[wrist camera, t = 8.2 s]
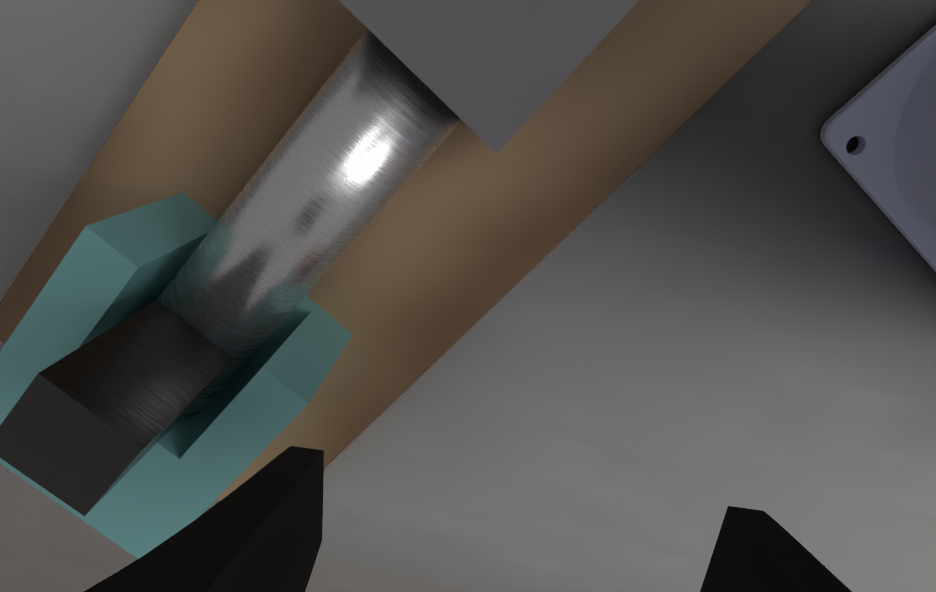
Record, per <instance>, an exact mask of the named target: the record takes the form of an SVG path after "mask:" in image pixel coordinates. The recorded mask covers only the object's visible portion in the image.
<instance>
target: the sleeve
mask: <svg viewBox="0 0 936 592" xmlns="http://www.w3.org/2000/svg"><path fill="white" fill-rule="evenodd" d="M339 1H340V2H341V3H342V4H343V5H344V6H345V7H346V8H347V9H348V10H349V11H350V12H351V13H352V14H353V15H354V16H355V17H356V18H357V19H359V20H360V21H361V22H362V23H363V24H364V25H365V26H366V27H367V28H368V29H369V30H370V31H371V32H372V33H373V34H374V35H375V36H376V37H377V38H378V39H379V40H380V41H381V42H382V43H383V44H384V45H385V46H386V47H387V48H388V49H389V50H390V51H391V52H392V53H394V54H395V55H396V56H397V57H398V58H399V59H400V60H401V61H402V62H403V63H404V64H405V65H406V66H407V67H408V68H409V69H410V70H411V71H412V72H413V73H414V74H415V75H416V76H417V77H418V78H419V79H420V80H421V81H422V82H423V83H424V84H425V85H426V86H427V87H429V88H430V89H431V90H432V91H433V92H434V93H435V94H436V95H437V96H438V97H439V98H440V99H441V100H442V101H443V102H444V103H445V104H446V105H447V106H448V107H449V108H450V109H451V110H452V111H453V112H454V113H455V114H456V115H457V116H458V117H459V118H460V119H461V120H462V121H463V122H465V123H466V124H467V125H468V126H469V127H470V128H471V129H472V130H473V131H474V132H475V133H476V134H477V135H478V136H479V137H480V138H481V139H482V140H483V141H484V142H485V143H486V144H487V145H488V146H489V147H490V148H491V149H492V150H493V151H494V152H495V153H497V152H498V151H499V150H500V149H501V148H502V147H503V146H504V145H505V144H506V143H507V142H508V141H509V139H510V138H511V137H512V136H513V135H514V134H515V133H516V132H517V131H518V130H519V129H520V128H521V127H522V126H523V124H524V123H525V122H526V121H527V120H528V119H529V118H530V117H531V116H532V115H533V114H534V113H535V112H536V111H537V109H538V108H539V107H540V106H541V105H542V104H543V103H544V102H545V101H546V100H547V99H548V98H549V97H550V96H551V94H552V93H553V92H554V91H555V90H556V89H557V88H558V87H559V86H560V85H561V84H562V83H563V82H564V81H565V79H566V78H567V77H568V76H569V75H570V74H571V73H572V72H573V71H574V70H575V69H576V68H577V67H578V66H579V64H580V63H581V62H582V61H583V60H584V59H585V58H586V57H587V56H588V55H589V54H590V53H591V52H592V51H593V49H594V48H595V47H596V46H597V45H598V44H599V43H600V42H601V41H602V40H603V39H604V38H605V37H606V36H607V34H608V33H609V32H610V31H611V30H612V29H613V28H614V27H615V26H616V25H617V24H618V23H619V22H620V21H621V19H622V18H623V17H624V16H625V15H626V14H627V13H628V12H629V11H630V10H631V9H632V8H633V7H634V6H635V4H636V3H637V2H638V1H639V0H339Z"/></svg>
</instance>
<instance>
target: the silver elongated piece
mask: <svg viewBox="0 0 936 592" xmlns="http://www.w3.org/2000/svg"><path fill="white" fill-rule="evenodd" d="M461 121H462V120H461V119H460V118H459V117H458V116H457V115H456V114H455V113H454V112H453V111H452V110H451V109H450V108H449V107H448V106H447V105H446V104H445V103H444V102H443V101H442V100H441V99H440V98H439V97H438V96H437V95H436V94H435V93H434V92H433V91H432V90H431V89H430V88H429V87H427V86H426V85H425V84H424V83H423V82H422V81H421V80H420V79H419V78H418V77H417V76H416V75H415V74H414V73H413V72H412V71H411V70H410V69H409V68H408V67H407V66H406V65H405V64H404V63H403V62H402V61H401V60H400V59H399V58H398V57H397V56H396V55H395V54H394V53H392V52H391V51H390V50H389V49H388V48H387V47H386V46H385V45H384V44H383V43H382V42H381V41H380V40H379V39H378V38H377V37H376V36H375V35H374V34H373V33H372V32H371V31H370V30H369V29H368V28H367V29H366V31H365V32H364V33H363V34H362V36H361V37H360V38H359V40H358V41H357V42H356V43H355V45H354V46H353V47H352V49H351V50H350V51H349V52H348V54H347V55H346V56H345V58H344V59H343V60H342V62H341V63H340V64H339V65H338V67H337V68H336V69H335V71H334V72H333V73H332V74H331V76H330V77H329V78H328V80H327V81H326V82H325V83H324V85H323V86H322V87H321V89H320V90H319V91H318V92H317V94H316V95H315V96H314V98H313V99H312V100H311V101H310V103H309V104H308V105H307V107H306V108H305V109H304V110H303V112H302V113H301V114H300V116H299V117H298V118H297V120H296V121H295V122H294V123H293V125H292V126H291V127H290V129H289V130H288V131H287V132H286V134H285V135H284V136H283V138H282V139H281V140H280V141H279V143H278V144H277V145H276V147H275V148H274V149H273V150H272V152H271V153H270V154H269V156H268V157H267V158H266V159H265V161H264V162H263V163H262V165H261V166H260V167H259V168H258V170H257V171H256V172H255V174H254V175H253V176H252V178H251V179H250V180H249V181H248V183H247V184H246V185H245V187H244V188H243V189H242V190H241V192H240V193H239V194H238V196H237V197H236V198H235V199H234V201H233V202H232V203H231V205H230V206H229V207H228V208H227V210H226V211H225V212H224V214H223V215H222V216H221V217H220V219H219V220H218V221H217V223H216V224H215V225H214V226H213V228H212V229H211V230H210V232H209V233H208V234H207V236H206V237H205V238H204V239H203V241H202V242H201V243H200V245H199V246H198V247H197V248H196V250H195V251H194V252H193V254H192V255H191V256H190V257H189V259H188V260H187V261H186V263H185V264H184V265H183V266H182V268H181V269H180V270H179V272H178V273H177V274H176V275H175V277H174V278H173V279H172V281H171V282H170V283H169V285H168V286H167V287H166V288H165V290H164V291H163V292H162V294H161V295H160V296H159V297H158V299H157V300H155V301H154V302H152V303H150V304H149V305H147V306H146V307H144V308H142V309H141V310H139V311H138V312H136V313H134V314H133V315H131V316H130V317H128V318H126V319H125V320H123V321H121V322H120V323H118V324H117V325H115V326H113V327H112V328H110V329H109V330H107V331H105V332H104V333H102V334H100V335H99V336H97V337H96V338H94V339H92V340H91V341H89V342H88V343H86V344H84V345H83V346H81V347H79V348H78V349H76V350H75V351H73V352H71V353H70V354H68V355H67V356H65V357H63V358H62V359H60V360H59V361H57V362H55V363H54V364H52V365H50V366H49V367H47V368H46V369H44V370H42V371H41V372H39V373H38V374H37V375H36V377H35V378H34V380H33V381H32V382H31V384H30V385H29V386H28V388H27V389H26V391H25V392H24V393H23V395H22V396H21V397H20V399H19V400H18V402H17V403H16V404H15V406H14V407H13V408H12V410H11V411H10V413H9V414H8V415H7V417H6V418H5V420H4V421H3V422H2V424H1V425H0V458H1V459H2V460H4V461H5V462H7V463H8V464H9V465H11V466H12V467H14V468H15V469H17V470H18V471H20V472H21V473H22V474H24V475H25V476H27V477H28V478H30V479H31V480H33V481H34V482H35V483H37V484H38V485H40V486H41V487H43V488H44V489H46V490H47V491H48V492H50V493H51V494H53V495H54V496H56V497H57V498H59V499H60V500H61V501H63V502H64V503H66V504H67V505H69V506H70V507H72V508H73V509H74V510H76V511H77V512H79V513H80V514H82V515H83V516H85V515H86V514H87V513H88V512H89V511H90V510H91V509H92V508H93V507H94V506H95V505H96V504H97V503H98V502H99V501H100V500H101V499H102V498H103V497H104V496H105V495H106V494H107V493H108V492H109V491H110V490H111V489H112V488H113V487H114V486H115V485H116V484H117V483H118V482H119V481H120V480H121V479H122V478H123V477H124V476H125V475H126V474H127V473H128V472H129V471H130V470H131V469H132V468H133V467H134V466H135V465H136V464H137V463H138V462H139V461H140V459H141V458H142V457H143V456H144V455H145V454H146V453H147V452H148V451H149V450H150V449H151V448H152V447H153V446H154V445H155V444H156V443H157V442H158V441H159V440H160V439H161V438H162V437H163V436H164V435H165V434H166V433H167V432H168V431H169V430H170V429H171V428H172V427H173V426H174V425H175V424H176V423H177V422H178V421H182V420H188V419H192V418H194V417H197V416H198V415H200V414H201V413H202V412H203V411H204V410H205V409H206V408H207V407H208V406H209V405H210V404H211V403H212V401H213V400H214V399H215V398H216V397H217V396H218V395H219V394H220V392H221V391H222V390H223V389H224V388H225V387H226V386H227V385H228V383H229V382H230V381H231V380H232V379H233V378H234V377H235V376H236V374H237V373H238V372H239V371H240V370H241V369H242V368H243V367H244V366H245V364H246V363H247V362H248V361H249V360H250V359H251V358H252V357H253V355H254V354H255V353H256V352H257V351H258V350H259V349H260V348H261V346H262V345H263V344H264V343H265V342H266V341H267V340H268V339H269V337H270V336H271V335H272V334H273V333H274V332H275V331H276V330H277V328H278V327H279V326H280V325H281V324H282V323H283V322H284V321H285V319H286V318H287V317H288V316H289V315H290V314H291V313H292V312H293V310H294V309H295V308H296V307H297V306H298V305H299V304H300V303H301V301H302V300H303V299H304V298H305V297H306V296H307V295H308V294H309V292H310V291H311V290H312V289H313V288H314V287H315V286H316V285H317V283H318V282H319V281H320V280H321V279H322V278H323V277H324V276H325V274H326V273H327V272H328V271H329V270H330V269H331V268H332V267H333V265H334V264H335V263H336V262H337V261H338V260H339V259H340V258H341V256H342V255H343V254H344V253H345V252H346V251H347V250H348V249H349V247H350V246H351V245H352V244H353V243H354V242H355V241H356V240H357V238H358V237H359V236H360V235H361V234H362V233H363V232H364V231H365V229H366V228H367V227H368V226H369V225H370V224H371V223H372V222H373V220H374V219H375V218H376V217H377V216H378V215H379V214H380V213H381V211H382V210H383V209H384V208H385V207H386V206H387V205H388V204H389V202H390V201H391V200H392V199H393V198H394V197H395V196H396V195H397V193H398V192H399V191H400V190H401V189H402V188H403V187H404V186H405V184H406V183H407V182H408V181H409V180H410V179H411V178H412V177H413V175H414V174H415V173H416V172H417V171H418V170H419V169H420V168H421V166H422V165H423V164H424V163H425V162H426V161H427V160H428V159H429V157H430V156H431V155H432V154H433V153H434V152H435V151H436V150H437V148H438V147H439V146H440V145H441V144H442V143H443V142H444V141H445V139H446V138H447V137H448V136H449V135H450V134H451V133H452V132H453V130H454V129H455V128H456V127H457V126H458V125H459V124H460V123H461Z"/></svg>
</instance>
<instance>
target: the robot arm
mask: <svg viewBox="0 0 936 592" xmlns="http://www.w3.org/2000/svg"><path fill="white" fill-rule="evenodd" d="M820 135H821V141H822V143H823V145H824V146H825V147H826V148H827V149H828V150H829V152H830V153H831V154H832V155H833V156H834V157H835V158H836V160H837V161H838V162H839V163H840V164H841V165H842V166H843V167H844V169H845V170H846V171H847V172H848V173H849V174H850V175H851V177H852V178H853V179H854V180H855V181H856V182H857V183H858V185H859V186H860V187H861V188H862V189H863V190H864V191H865V192H866V194H867V195H868V196H869V197H870V198H871V199H872V200H873V202H874V203H875V204H876V205H877V206H878V207H879V208H880V209H881V211H882V212H883V213H884V214H885V215H886V216H887V217H888V219H889V220H890V221H891V222H892V223H893V224H894V225H895V227H896V228H897V229H898V230H899V231H900V232H901V233H902V234H903V236H904V237H905V238H906V239H907V240H908V241H909V242H910V244H911V245H912V246H913V247H914V248H915V249H916V250H917V251H918V253H919V254H920V255H921V256H922V257H923V258H924V259H925V261H926V262H927V263H928V264H929V265H930V266H931V267H932V269H933V270H934V271H935V272H936V25H935V26H933V27H932V28H931V29H930V30H929V31H928V32H927V33H925V34H924V35H923V36H922V37H921V38H920V39H919V40H918V41H916V42H915V43H914V44H913V45H912V46H911V47H910V48H908V49H907V50H906V51H905V52H904V53H903V54H902V55H900V56H899V57H898V58H897V59H896V60H895V61H894V62H893V63H891V64H890V65H889V66H888V67H887V68H886V69H885V70H883V71H882V72H881V73H880V74H879V75H878V76H877V77H875V78H874V79H873V80H872V81H871V82H870V83H869V84H868V85H866V86H865V87H864V88H863V89H862V90H861V91H860V92H858V93H857V94H856V95H855V96H854V97H853V98H852V99H850V100H849V101H848V102H847V103H846V104H845V105H844V106H842V107H841V108H840V109H839V110H838V111H837V112H836V113H835V114H833V115H832V116H831V117H830V118H829V119H828V120H827V121H826V122H825V123H824V125H823V127H822V129H821V132H820ZM854 136H856V137H857V138H858V141H859V142H858V147H857V148H856V149H855V150H854V151H853V152H851V153H848V152H847V150H846V145H847V142H848V141H849V140H850V139H851V138H853V137H854ZM323 472H324V450H318V449H310V448H303V447H296V446H290V447H289V448H287V449H286V450H284V451H283V452H282V453H281V454H279V455H278V456H277V457H275V458H274V459H273V460H272V461H270V462H269V463H268V464H267V465H265V466H264V467H263V468H262V469H260V470H259V471H258V472H257V473H255V474H254V475H253V476H252V477H250V478H249V479H248V480H247V481H245V482H244V483H243V484H242V485H240V486H239V487H238V488H236V489H235V490H234V491H233V492H231V493H230V494H229V495H227V496H226V497H225V498H223V499H222V500H221V501H219V502H218V503H217V504H215V505H214V506H213V507H212V508H210V509H209V510H208V511H206V512H205V513H204V514H202V515H201V516H200V517H198V518H197V519H196V520H194V521H193V522H191V523H190V524H189V525H187V526H186V527H184V528H183V529H181V530H180V531H178V532H177V533H176V534H174V535H173V536H171V537H170V538H168V539H167V540H165V541H164V542H163V543H161V544H160V545H158V546H157V547H155V548H154V549H152V550H151V551H150V552H148V553H147V554H145V555H144V556H142V557H141V558H139V559H137V560H136V561H134V562H133V563H131V564H130V565H128V566H126V567H125V568H123V569H121V570H120V571H118V572H117V573H115V574H113V575H112V576H110V577H108V578H106V579H105V580H103V581H101V582H100V583H98V584H96V585H94V586H93V587H91V588H89V589H88V590H86V591H84V592H305V590H306V587H307V584H308V581H309V578H310V575H311V572H312V569H313V566H314V563H315V560H316V557H317V554H318V551H319V548H320V545H321V542H322V516H323ZM700 592H852V591H850V590H849V589H848V588H847V587H846V586H845V585H844V584H843V583H842V582H841V581H840V580H839V579H837V578H836V577H835V576H834V575H833V574H832V573H831V572H830V571H829V570H828V569H827V568H826V567H825V566H824V565H822V564H821V563H820V562H819V561H818V560H817V559H816V558H815V557H814V556H813V555H812V554H811V553H810V552H809V551H808V550H806V549H805V548H804V547H803V546H802V545H801V544H800V543H799V542H798V541H797V540H796V539H795V538H794V537H792V536H791V535H790V534H789V533H788V532H787V531H786V530H785V529H784V528H783V527H782V526H780V525H779V524H778V523H777V522H776V521H775V520H774V519H772V518H771V517H770V516H769V515H768V514H767V513H765V512H764V511H760V510H753V509H746V508H738V507H731V506H728V508H727V511H726V514H725V517H724V520H723V524H722V527H721V530H720V533H719V536H718V539H717V542H716V545H715V548H714V551H713V554H712V557H711V560H710V563H709V567H708V570H707V573H706V576H705V579H704V582H703V585H702V588H701V591H700Z"/></svg>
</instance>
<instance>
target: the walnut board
mask: <svg viewBox="0 0 936 592" xmlns="http://www.w3.org/2000/svg"><path fill="white" fill-rule="evenodd" d="M811 1H812V0H639V1H638V2H637V3H636V4H635V6H634V7H633V8H632V9H631V10H630V11H629V12H628V13H627V14H626V15H625V16H624V17H623V18H622V19H621V21H620V22H619V23H618V24H617V25H616V26H615V27H614V28H613V29H612V30H611V31H610V32H609V33H608V34H607V36H606V37H605V38H604V39H603V40H602V41H601V42H600V43H599V44H598V45H597V46H596V47H595V48H594V49H593V51H592V52H591V53H590V54H589V55H588V56H587V57H586V58H585V59H584V60H583V61H582V62H581V63H580V64H579V66H578V67H577V68H576V69H575V70H574V71H573V72H572V73H571V74H570V75H569V76H568V77H567V78H566V79H565V81H564V82H563V83H562V84H561V85H560V86H559V87H558V88H557V89H556V90H555V91H554V92H553V93H552V94H551V96H550V97H549V98H548V99H547V100H546V101H545V102H544V103H543V104H542V105H541V106H540V107H539V108H538V109H537V111H536V112H535V113H534V114H533V115H532V116H531V117H530V118H529V119H528V120H527V121H526V122H525V123H524V124H523V126H522V127H521V128H520V129H519V130H518V131H517V132H516V133H515V134H514V135H513V136H512V137H511V138H510V139H509V141H508V142H507V143H506V144H505V145H504V146H503V147H502V148H501V149H500V150H499V151H498V152H497V153H495V152H494V151H493V150H492V149H491V148H490V147H489V146H488V145H487V144H486V143H485V142H484V141H483V140H482V139H481V138H480V137H479V136H478V135H477V134H476V133H475V132H474V131H473V130H472V129H471V128H470V127H469V126H468V125H467V124H466V123H465V122H463V121H461V123H460V124H459V125H458V126H457V127H456V128H455V129H454V130H453V132H452V133H451V134H450V135H449V136H448V137H447V138H446V139H445V141H444V142H443V143H442V144H441V145H440V146H439V147H438V148H437V150H436V151H435V152H434V153H433V154H432V155H431V156H430V157H429V159H428V160H427V161H426V162H425V163H424V164H423V165H422V166H421V168H420V169H419V170H418V171H417V172H416V173H415V174H414V175H413V177H412V178H411V179H410V180H409V181H408V182H407V183H406V184H405V186H404V187H403V188H402V189H401V190H400V191H399V192H398V193H397V195H396V196H395V197H394V198H393V199H392V200H391V201H390V202H389V204H388V205H387V206H386V207H385V208H384V209H383V210H382V211H381V213H380V214H379V215H378V216H377V217H376V218H375V219H374V220H373V222H372V223H371V224H370V225H369V226H368V227H367V228H366V229H365V231H364V232H363V233H362V234H361V235H360V236H359V237H358V238H357V240H356V241H355V242H354V243H353V244H352V245H351V246H350V247H349V249H348V250H347V251H346V252H345V253H344V254H343V255H342V256H341V258H340V259H339V260H338V261H337V262H336V263H335V264H334V265H333V267H332V268H331V269H330V270H329V271H328V272H327V273H326V274H325V276H324V277H323V278H322V279H321V280H320V281H319V282H318V283H317V285H316V286H315V287H314V288H313V289H312V290H311V291H310V292H309V294H308V295H307V297H308V298H310V299H311V300H312V301H313V302H314V303H316V304H317V305H318V306H319V307H320V308H322V309H323V310H324V311H325V312H326V313H328V314H329V315H330V316H331V317H332V318H333V319H335V320H336V321H337V322H338V323H339V324H341V325H342V326H343V327H344V328H345V329H347V330H348V331H349V332H350V333H351V334H352V337H351V338H350V340H349V341H348V343H347V344H346V346H345V348H344V349H343V351H342V352H341V354H340V355H339V357H338V359H337V360H336V362H335V363H334V365H333V366H332V368H331V370H330V371H329V373H328V374H327V376H326V377H325V379H324V381H323V382H322V384H321V385H320V387H319V388H318V390H317V391H316V393H315V395H314V396H313V398H312V399H311V401H310V402H309V404H308V405H307V406H306V407H305V408H304V409H303V410H302V411H301V412H300V413H299V414H298V415H297V416H296V417H295V418H294V419H293V421H292V422H291V423H290V424H289V425H288V426H287V427H286V428H285V429H284V430H283V431H282V432H281V433H280V434H279V435H278V436H277V437H276V438H275V439H274V440H273V441H272V442H271V443H270V444H269V445H268V446H267V447H266V448H265V449H264V450H263V451H262V452H261V453H260V454H259V456H258V457H257V458H256V459H255V460H254V461H253V462H252V463H251V464H250V465H249V466H248V467H247V468H246V469H245V470H244V471H243V472H242V473H241V474H240V475H239V476H238V477H237V478H236V479H235V480H234V481H233V482H232V483H231V484H230V485H229V486H228V487H227V488H226V489H225V490H224V492H223V493H222V494H221V495H220V496H219V497H218V498H217V500H218V501H221V500H222V499H223V498H225V497H226V496H227V495H229V494H230V493H231V492H233V491H234V490H235V489H236V488H238V487H239V486H240V485H242V484H243V483H244V482H245V481H247V480H248V479H249V478H250V477H252V476H253V475H254V474H255V473H257V472H258V471H259V470H260V469H262V468H263V467H264V466H265V465H267V464H268V463H269V462H270V461H272V460H273V459H274V458H275V457H277V456H278V455H279V454H281V453H282V452H283V451H284V450H286V449H287V448H289V447H290V446H296V447H303V448H310V449H318V450H324V468H325V467H326V466H327V465H328V464H330V463H331V462H332V461H333V460H334V459H335V458H336V457H337V456H338V455H339V454H340V453H341V452H342V451H343V450H344V449H345V448H346V447H347V446H348V445H349V444H350V443H351V442H352V441H353V440H355V439H356V438H357V437H358V436H359V435H360V434H361V433H362V432H363V431H364V430H365V429H366V428H367V427H368V426H369V425H370V424H371V423H372V422H373V421H374V420H375V419H376V418H377V417H378V416H380V415H381V414H382V413H383V412H384V411H385V410H386V409H387V408H388V407H389V406H390V405H391V404H392V403H393V402H394V401H395V400H396V399H397V398H398V397H399V396H400V395H401V394H402V393H404V392H405V391H406V390H407V389H408V388H409V387H410V386H411V385H412V384H413V383H414V382H415V381H416V380H417V379H418V378H419V377H420V376H421V375H422V374H423V373H424V372H425V371H426V370H427V369H429V368H430V367H431V366H432V365H433V364H434V363H435V362H436V361H437V360H438V359H439V358H440V357H441V356H442V355H443V354H444V353H445V352H446V351H447V350H448V349H449V348H450V347H451V346H452V345H454V344H455V343H456V342H457V341H458V340H459V339H460V338H461V337H462V336H463V335H464V334H465V333H466V332H467V331H468V330H469V329H470V328H471V327H472V326H473V325H474V324H475V323H476V322H477V321H479V320H480V319H481V318H482V317H483V316H484V315H485V314H486V313H487V312H488V311H489V310H490V309H491V308H492V307H493V306H494V305H495V304H496V303H497V302H498V301H499V300H500V299H501V298H502V297H504V296H505V295H506V294H507V293H508V292H509V291H510V290H511V289H512V288H513V287H514V286H515V285H516V284H517V283H518V282H519V281H520V280H521V279H522V278H523V277H524V276H525V275H526V274H527V273H529V272H530V271H531V270H532V269H533V268H534V267H535V266H536V265H537V264H538V263H539V262H540V261H541V260H542V259H543V258H544V257H545V256H546V255H547V254H548V253H549V252H550V251H551V250H552V249H554V248H555V247H556V246H557V245H558V244H559V243H560V242H561V241H562V240H563V239H564V238H565V237H566V236H567V235H568V234H569V233H570V232H571V231H572V230H573V229H574V228H575V227H576V226H578V225H579V224H580V223H581V222H582V221H583V220H584V219H585V218H586V217H587V216H588V215H589V214H590V213H591V212H592V211H593V210H594V209H595V208H596V207H597V206H598V205H599V204H600V203H601V202H603V201H604V200H605V199H606V198H607V197H608V196H609V195H610V194H611V193H612V192H613V191H614V190H615V189H616V188H617V187H618V186H619V185H620V184H621V183H622V182H623V181H624V180H625V179H626V178H628V177H629V176H630V175H631V174H632V173H633V172H634V171H635V170H636V169H637V168H638V167H639V166H640V165H641V164H642V163H643V162H644V161H645V160H646V159H647V158H648V157H649V156H650V155H651V154H653V153H654V152H655V151H656V150H657V149H658V148H659V147H660V146H661V145H662V144H663V143H664V142H665V141H666V140H667V139H668V138H669V137H670V136H671V135H672V134H673V133H674V132H675V131H676V130H678V129H679V128H680V127H681V126H682V125H683V124H684V123H685V122H686V121H687V120H688V119H689V118H690V117H691V116H692V115H693V114H694V113H695V112H696V111H697V110H698V109H699V108H700V107H701V106H703V105H704V104H705V103H706V102H707V101H708V100H709V99H710V98H711V97H712V96H713V95H714V94H715V93H716V92H717V91H718V90H719V89H720V88H721V87H722V86H723V85H724V84H725V83H727V82H728V81H729V80H730V79H731V78H732V77H733V76H734V75H735V74H736V73H737V72H738V71H739V70H740V69H741V68H742V67H743V66H744V65H745V64H746V63H747V62H748V61H749V60H750V59H752V58H753V57H754V56H755V55H756V54H757V53H758V52H759V51H760V50H761V49H762V48H763V47H764V46H765V45H766V44H767V43H768V42H769V41H770V40H771V39H772V38H773V37H774V36H775V35H777V34H778V33H779V32H780V31H781V30H782V29H783V28H784V27H785V26H786V25H787V24H788V23H789V22H790V21H791V20H792V19H793V18H794V17H795V16H796V15H797V14H798V13H799V12H800V11H802V10H803V9H804V8H805V7H806V6H807V5H808V4H809V3H810V2H811ZM366 29H367V27H366V26H365V25H364V24H363V23H362V22H361V21H360V20H359V19H357V18H356V17H355V16H354V15H353V14H352V13H351V12H350V11H349V10H348V9H347V8H346V7H345V6H344V5H343V4H342V3H341V2H340V1H339V0H199V1H198V2H197V4H196V5H195V7H194V8H193V10H192V11H191V13H190V14H189V16H188V17H187V19H186V20H185V22H184V23H183V25H182V26H181V28H180V30H179V31H178V33H177V34H176V36H175V37H174V39H173V40H172V42H171V43H170V45H169V46H168V48H167V49H166V51H165V52H164V54H163V55H162V57H161V58H160V60H159V62H158V63H157V65H156V66H155V68H154V69H153V71H152V72H151V74H150V75H149V77H148V78H147V80H146V81H145V83H144V84H143V86H142V87H141V89H140V90H139V92H138V94H137V95H136V97H135V98H134V100H133V101H132V103H131V104H130V106H129V107H128V109H127V110H126V112H125V113H124V115H123V116H122V118H121V119H120V121H119V122H118V124H117V126H116V127H115V129H114V130H113V132H112V133H111V135H110V136H109V138H108V139H107V141H106V142H105V144H104V145H103V147H102V148H101V150H100V151H99V153H98V155H97V156H96V158H95V159H94V161H93V162H92V164H91V165H90V167H89V168H88V170H87V171H86V173H85V174H84V176H83V177H82V179H81V180H80V182H79V183H78V185H77V187H76V188H75V190H74V191H73V193H72V194H71V196H70V197H69V199H68V200H67V202H66V203H65V205H64V206H63V208H62V209H61V211H60V212H59V214H58V215H57V217H56V219H55V220H54V222H53V223H52V225H51V226H50V228H49V229H48V231H47V232H46V234H45V235H44V237H43V238H42V240H41V241H40V243H39V244H38V246H37V247H36V249H35V251H34V252H33V254H32V255H31V257H30V258H29V260H28V261H27V263H26V264H25V266H24V267H23V269H22V270H21V272H20V273H19V275H18V276H17V278H16V279H15V281H14V283H13V284H12V286H11V287H10V289H9V290H8V292H7V293H6V295H5V296H4V298H3V299H2V301H1V302H0V340H1V341H2V342H3V343H6V342H7V341H8V339H9V338H10V336H11V335H12V333H13V332H14V330H15V329H16V327H17V326H18V324H19V323H20V321H21V320H22V319H23V317H24V316H25V314H26V313H27V311H28V310H29V308H30V307H31V305H32V304H33V302H34V301H35V299H36V298H37V297H38V295H39V294H40V292H41V291H42V289H43V288H44V286H45V285H46V283H47V282H48V280H49V279H50V277H51V276H52V275H53V273H54V272H55V270H56V269H57V267H58V266H59V264H60V263H61V261H62V260H63V258H64V257H65V255H66V254H67V253H68V251H69V250H70V248H71V247H72V245H73V244H74V242H75V241H76V239H77V238H78V236H79V235H80V233H81V232H82V231H83V229H84V228H85V226H87V225H90V224H93V223H96V222H98V221H101V220H104V219H107V218H110V217H113V216H116V215H119V214H121V213H124V212H127V211H130V210H133V209H136V208H139V207H142V206H145V205H147V204H150V203H153V202H156V201H159V200H162V199H165V198H168V197H170V196H173V195H176V194H179V193H182V192H184V193H185V194H186V195H187V196H188V197H190V198H191V199H192V200H193V201H194V202H196V203H197V204H198V205H199V206H200V207H202V208H203V209H204V210H205V211H206V212H208V213H209V214H210V215H211V216H212V217H213V218H215V219H216V220H217V221H218V220H219V219H220V217H221V216H222V215H223V214H224V212H225V211H226V210H227V208H228V207H229V206H230V205H231V203H232V202H233V201H234V199H235V198H236V197H237V196H238V194H239V193H240V192H241V190H242V189H243V188H244V187H245V185H246V184H247V183H248V181H249V180H250V179H251V178H252V176H253V175H254V174H255V172H256V171H257V170H258V168H259V167H260V166H261V165H262V163H263V162H264V161H265V159H266V158H267V157H268V156H269V154H270V153H271V152H272V150H273V149H274V148H275V147H276V145H277V144H278V143H279V141H280V140H281V139H282V138H283V136H284V135H285V134H286V132H287V131H288V130H289V129H290V127H291V126H292V125H293V123H294V122H295V121H296V120H297V118H298V117H299V116H300V114H301V113H302V112H303V110H304V109H305V108H306V107H307V105H308V104H309V103H310V101H311V100H312V99H313V98H314V96H315V95H316V94H317V92H318V91H319V90H320V89H321V87H322V86H323V85H324V83H325V82H326V81H327V80H328V78H329V77H330V76H331V74H332V73H333V72H334V71H335V69H336V68H337V67H338V65H339V64H340V63H341V62H342V60H343V59H344V58H345V56H346V55H347V54H348V52H349V51H350V50H351V49H352V47H353V46H354V45H355V43H356V42H357V41H358V40H359V38H360V37H361V36H362V34H363V33H364V32H365V31H366Z"/></svg>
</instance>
